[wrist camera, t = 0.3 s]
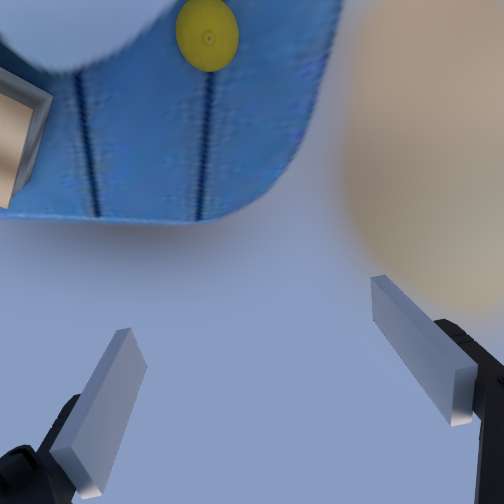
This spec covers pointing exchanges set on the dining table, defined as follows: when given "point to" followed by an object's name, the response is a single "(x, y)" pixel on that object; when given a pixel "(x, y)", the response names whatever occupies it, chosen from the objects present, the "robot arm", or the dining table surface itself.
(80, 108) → the dining table surface
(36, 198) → the dining table surface
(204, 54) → the lemon
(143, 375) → the robot arm
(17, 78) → the oak riser
